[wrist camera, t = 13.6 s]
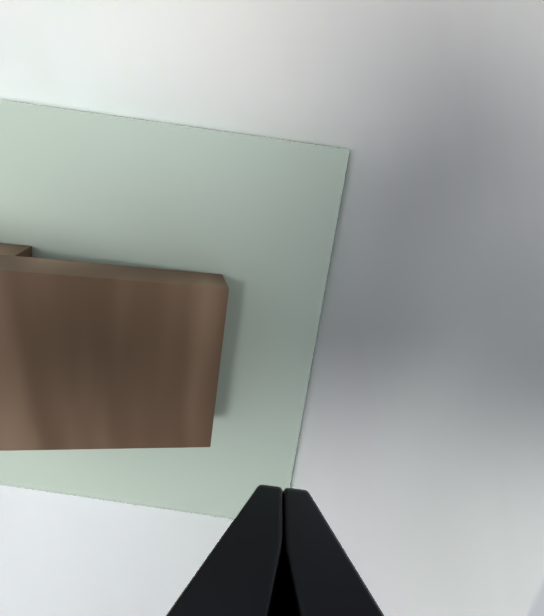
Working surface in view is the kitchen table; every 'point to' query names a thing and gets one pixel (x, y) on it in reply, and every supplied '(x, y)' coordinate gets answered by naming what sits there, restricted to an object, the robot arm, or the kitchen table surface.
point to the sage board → (185, 257)
